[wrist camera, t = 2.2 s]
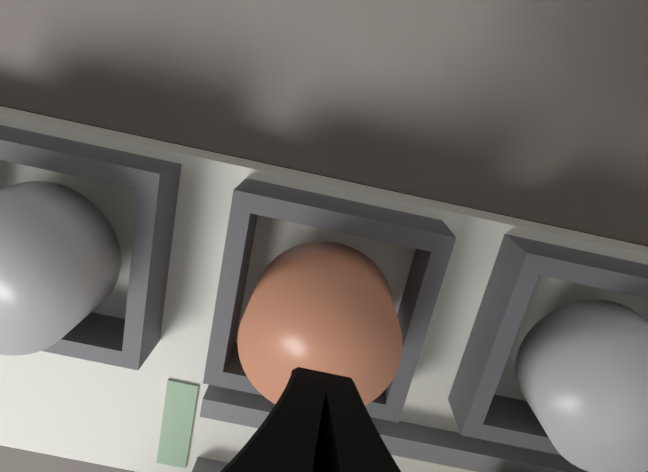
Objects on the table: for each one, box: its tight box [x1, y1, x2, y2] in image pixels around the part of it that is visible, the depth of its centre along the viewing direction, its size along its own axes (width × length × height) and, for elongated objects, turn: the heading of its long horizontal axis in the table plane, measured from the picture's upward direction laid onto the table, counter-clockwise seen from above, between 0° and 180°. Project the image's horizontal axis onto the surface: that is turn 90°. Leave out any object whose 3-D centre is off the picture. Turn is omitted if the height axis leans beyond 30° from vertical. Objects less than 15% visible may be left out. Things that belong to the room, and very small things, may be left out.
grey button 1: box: [515, 300, 648, 472], centre depth 15 cm, size 5×5×2 cm
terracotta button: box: [237, 241, 403, 406], centre depth 14 cm, size 5×5×2 cm
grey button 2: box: [0, 181, 121, 356], centre depth 14 cm, size 5×5×2 cm
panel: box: [0, 106, 648, 472], centre depth 18 cm, size 14×32×4 cm, turn 78°
